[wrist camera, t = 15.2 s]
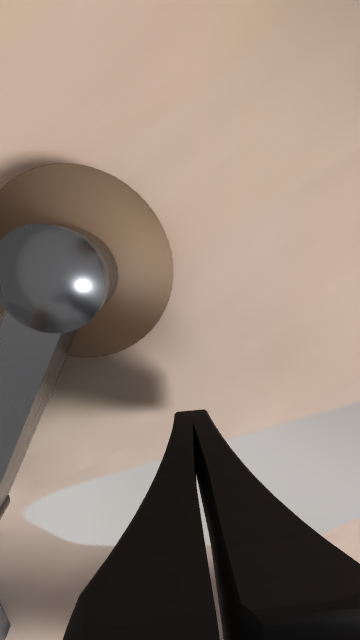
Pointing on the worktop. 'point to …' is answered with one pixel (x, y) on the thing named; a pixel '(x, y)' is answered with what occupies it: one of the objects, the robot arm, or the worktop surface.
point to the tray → (3, 624)
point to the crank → (42, 323)
